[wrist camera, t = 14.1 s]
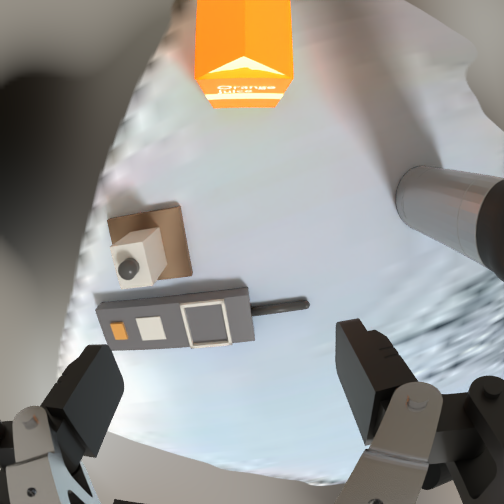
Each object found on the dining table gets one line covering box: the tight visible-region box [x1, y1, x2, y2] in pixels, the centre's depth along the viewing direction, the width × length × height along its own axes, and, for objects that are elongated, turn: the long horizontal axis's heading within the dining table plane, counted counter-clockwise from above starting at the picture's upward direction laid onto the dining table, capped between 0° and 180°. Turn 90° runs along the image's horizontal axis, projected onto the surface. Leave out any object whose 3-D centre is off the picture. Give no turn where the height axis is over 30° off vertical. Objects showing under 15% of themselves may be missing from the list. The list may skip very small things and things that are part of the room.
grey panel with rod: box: [95, 287, 310, 351], centre depth 42 cm, size 30×7×3 cm, turn 97°
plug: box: [110, 227, 167, 289], centre depth 35 cm, size 4×5×8 cm
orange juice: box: [195, 0, 293, 108], centre depth 24 cm, size 8×9×20 cm
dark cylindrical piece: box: [422, 463, 453, 490], centre depth 56 cm, size 10×34×10 cm, turn 78°
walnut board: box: [107, 206, 193, 280], centre depth 39 cm, size 10×9×1 cm
